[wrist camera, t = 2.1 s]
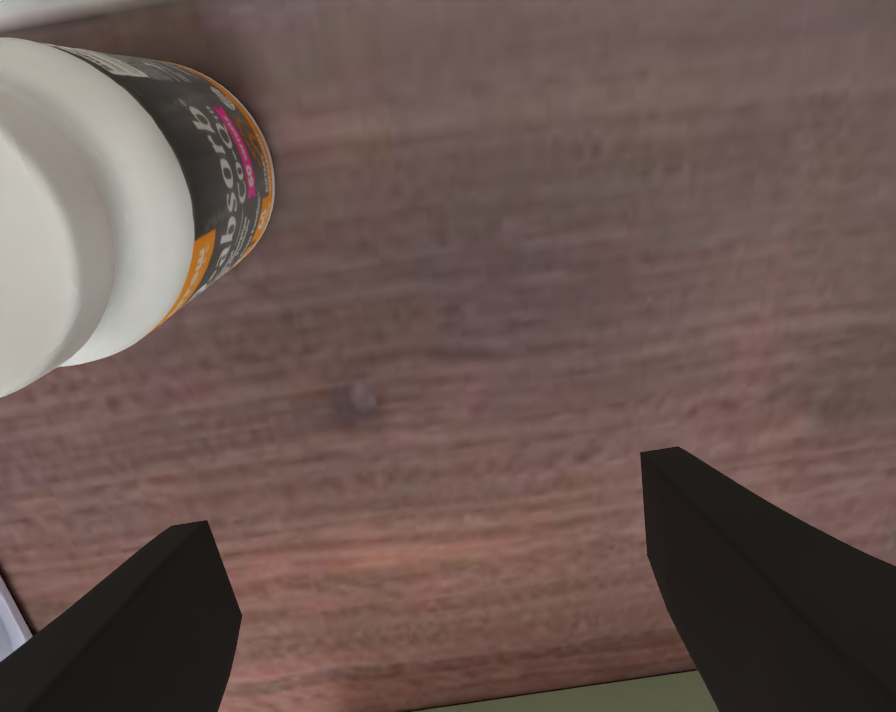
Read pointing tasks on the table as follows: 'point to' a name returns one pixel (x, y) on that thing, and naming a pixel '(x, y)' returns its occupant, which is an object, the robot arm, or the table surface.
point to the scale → (608, 698)
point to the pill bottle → (115, 200)
